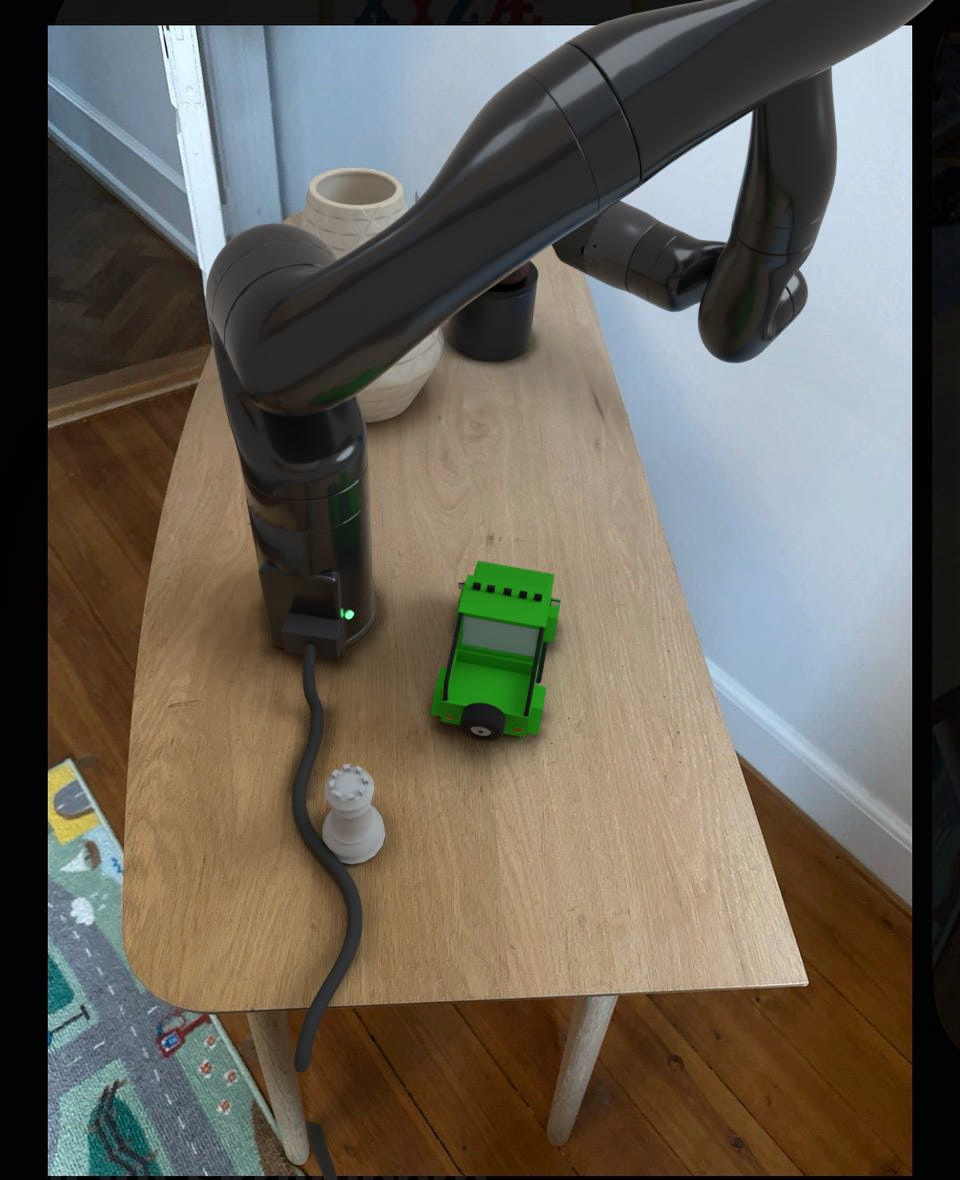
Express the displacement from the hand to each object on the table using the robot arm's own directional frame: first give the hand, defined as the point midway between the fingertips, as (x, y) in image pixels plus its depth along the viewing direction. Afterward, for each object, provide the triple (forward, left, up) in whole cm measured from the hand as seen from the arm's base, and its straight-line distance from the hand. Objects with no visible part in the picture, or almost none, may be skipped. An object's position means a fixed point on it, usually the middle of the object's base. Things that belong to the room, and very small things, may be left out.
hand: (493, 186), depth 95 cm
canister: (-1, -1, -18) cm, 18 cm away
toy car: (-52, -9, -18) cm, 55 cm away
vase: (-15, +11, -18) cm, 26 cm away
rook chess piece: (-68, -1, -18) cm, 70 cm away
